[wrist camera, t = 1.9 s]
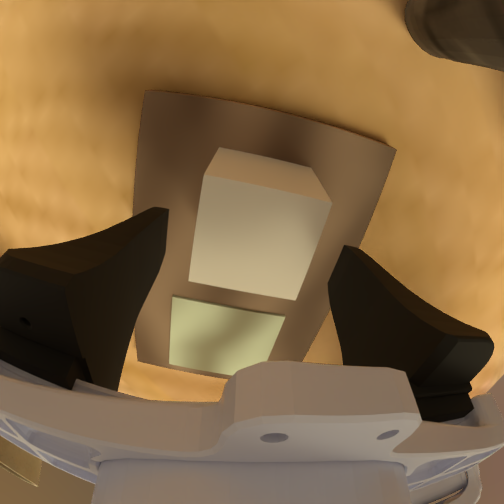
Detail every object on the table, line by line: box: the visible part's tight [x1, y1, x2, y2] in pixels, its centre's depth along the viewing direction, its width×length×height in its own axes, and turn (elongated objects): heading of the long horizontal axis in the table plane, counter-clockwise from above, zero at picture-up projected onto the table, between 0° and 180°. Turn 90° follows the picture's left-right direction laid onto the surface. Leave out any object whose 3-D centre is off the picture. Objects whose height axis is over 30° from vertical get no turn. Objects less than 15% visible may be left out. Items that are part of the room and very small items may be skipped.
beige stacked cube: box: [188, 147, 332, 301], centre depth 14 cm, size 5×5×5 cm
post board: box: [133, 90, 397, 379], centre depth 19 cm, size 14×22×5 cm, turn 167°
